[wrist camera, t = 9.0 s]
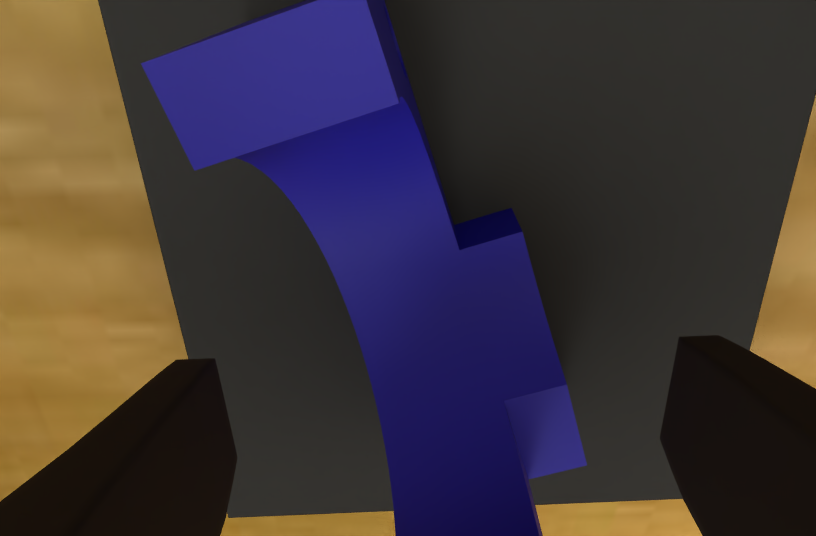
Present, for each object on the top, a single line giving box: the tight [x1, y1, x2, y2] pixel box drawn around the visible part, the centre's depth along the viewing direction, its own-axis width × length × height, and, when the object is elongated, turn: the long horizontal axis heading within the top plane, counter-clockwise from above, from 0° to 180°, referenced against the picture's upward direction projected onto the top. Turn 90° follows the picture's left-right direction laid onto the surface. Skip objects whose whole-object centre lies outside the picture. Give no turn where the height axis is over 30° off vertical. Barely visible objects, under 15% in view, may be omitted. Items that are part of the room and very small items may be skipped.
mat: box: [98, 0, 816, 518], centre depth 16 cm, size 20×16×1 cm
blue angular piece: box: [141, 0, 587, 536], centre depth 13 cm, size 12×4×6 cm, turn 18°
